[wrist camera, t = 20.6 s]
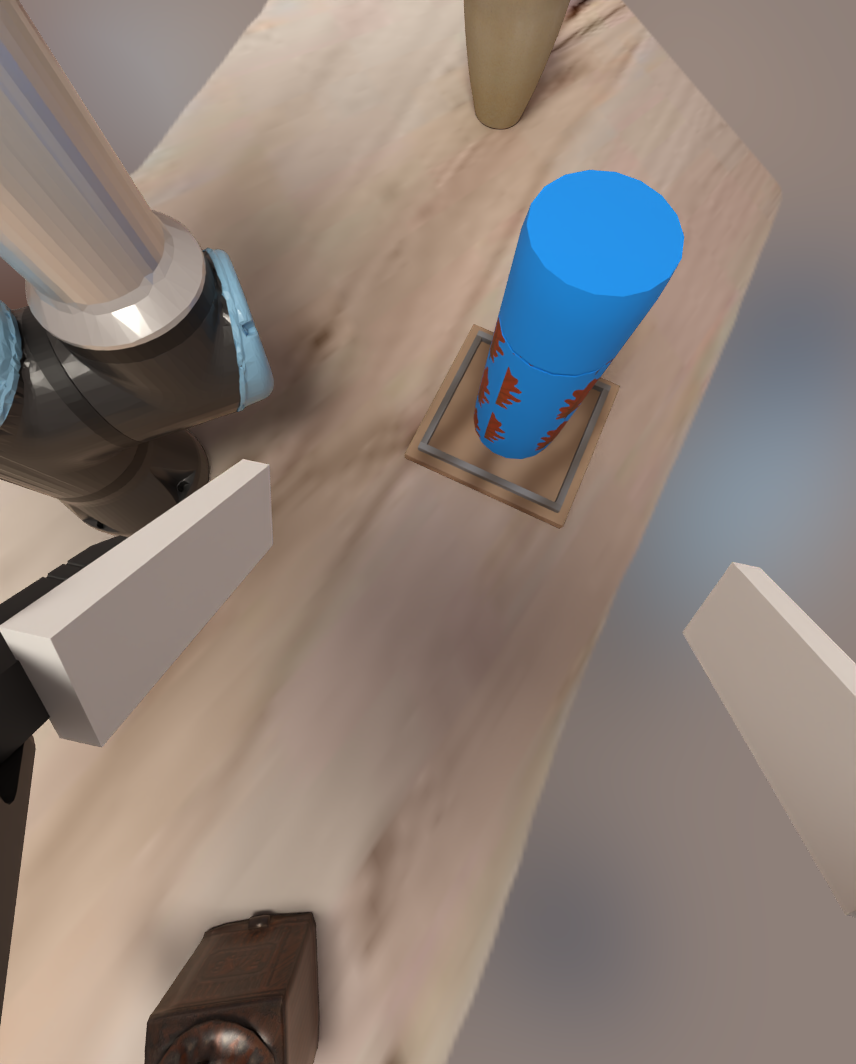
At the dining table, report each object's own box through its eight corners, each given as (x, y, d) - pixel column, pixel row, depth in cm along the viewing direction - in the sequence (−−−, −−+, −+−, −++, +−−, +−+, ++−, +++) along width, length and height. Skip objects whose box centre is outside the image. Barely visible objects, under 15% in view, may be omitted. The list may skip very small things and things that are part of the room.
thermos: (556, 386, 52) (680, 174, 28) (557, 463, 49) (694, 304, 25) (473, 380, 52) (523, 162, 27) (470, 457, 49) (522, 291, 25)
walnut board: (404, 457, 50) (404, 451, 48) (472, 330, 55) (474, 319, 53) (559, 528, 49) (565, 524, 47) (615, 391, 53) (623, 382, 51)
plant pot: (561, 111, 65) (606, -50, 50) (505, 161, 62) (535, 7, 47) (490, 66, 67) (512, -102, 52) (432, 113, 64) (438, -50, 49)
